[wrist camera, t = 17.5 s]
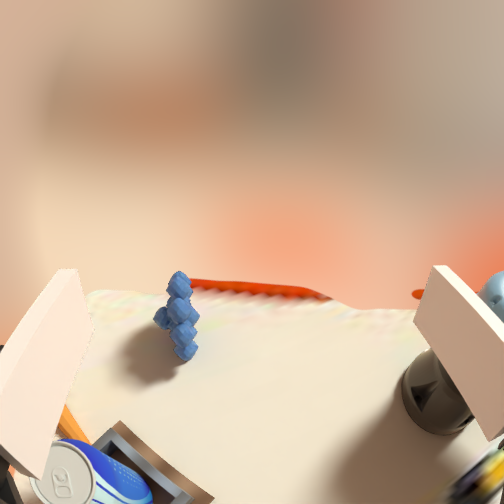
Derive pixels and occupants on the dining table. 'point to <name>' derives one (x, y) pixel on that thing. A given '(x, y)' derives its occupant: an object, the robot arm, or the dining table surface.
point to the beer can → (88, 477)
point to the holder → (150, 467)
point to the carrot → (71, 426)
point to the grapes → (179, 316)
